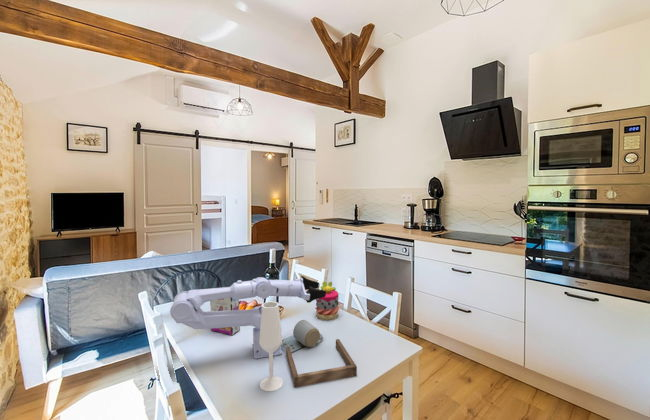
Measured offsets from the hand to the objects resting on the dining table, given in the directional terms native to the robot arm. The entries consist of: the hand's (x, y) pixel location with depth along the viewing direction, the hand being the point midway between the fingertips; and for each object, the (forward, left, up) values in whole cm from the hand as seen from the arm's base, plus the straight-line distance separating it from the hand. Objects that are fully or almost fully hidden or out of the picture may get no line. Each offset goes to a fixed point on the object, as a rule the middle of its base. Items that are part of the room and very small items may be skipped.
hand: (321, 289), depth 109 cm
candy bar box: (-36, +18, -20) cm, 45 cm away
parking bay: (-5, -15, -20) cm, 25 cm away
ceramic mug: (-5, 0, -20) cm, 21 cm away
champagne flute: (-21, -20, -20) cm, 35 cm away
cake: (+8, +20, -20) cm, 29 cm away
